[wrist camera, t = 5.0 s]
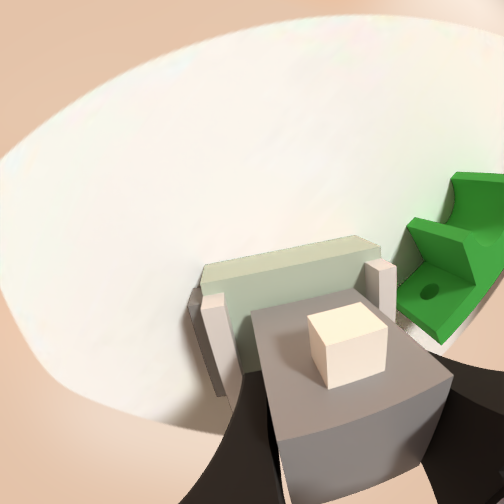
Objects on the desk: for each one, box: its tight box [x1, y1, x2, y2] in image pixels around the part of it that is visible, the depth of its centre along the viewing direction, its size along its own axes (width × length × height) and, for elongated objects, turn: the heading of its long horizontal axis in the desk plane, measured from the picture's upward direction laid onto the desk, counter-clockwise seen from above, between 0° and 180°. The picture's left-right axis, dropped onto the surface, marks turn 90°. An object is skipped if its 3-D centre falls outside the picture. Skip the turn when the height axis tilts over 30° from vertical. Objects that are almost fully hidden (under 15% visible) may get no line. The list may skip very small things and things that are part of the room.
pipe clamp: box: [396, 172, 504, 345], centre depth 11 cm, size 11×4×5 cm, turn 130°
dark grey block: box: [250, 288, 454, 504], centre depth 8 cm, size 4×5×6 cm
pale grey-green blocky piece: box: [188, 235, 397, 412], centre depth 12 cm, size 8×7×4 cm
